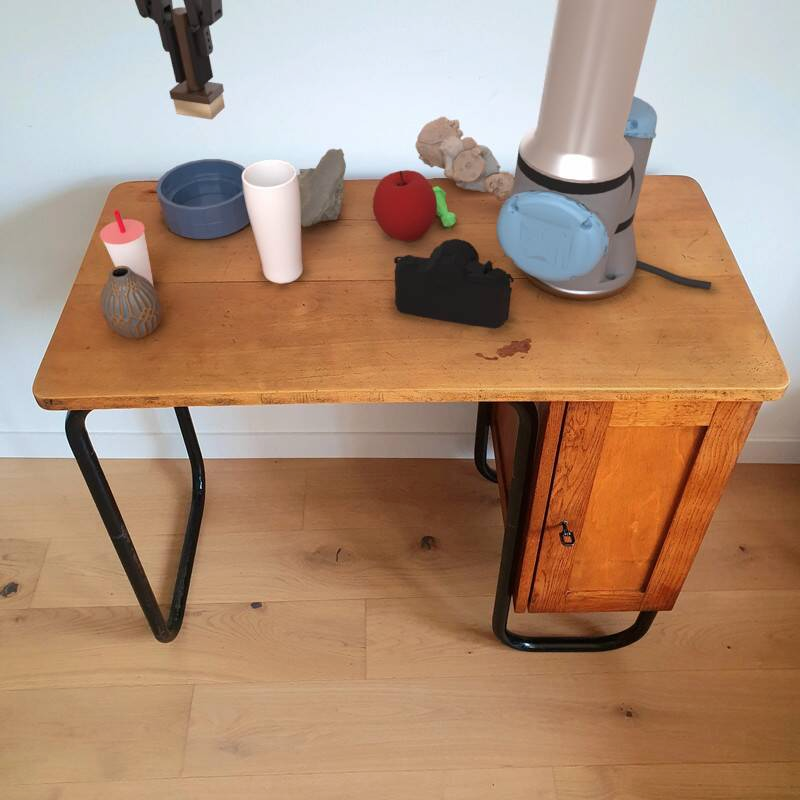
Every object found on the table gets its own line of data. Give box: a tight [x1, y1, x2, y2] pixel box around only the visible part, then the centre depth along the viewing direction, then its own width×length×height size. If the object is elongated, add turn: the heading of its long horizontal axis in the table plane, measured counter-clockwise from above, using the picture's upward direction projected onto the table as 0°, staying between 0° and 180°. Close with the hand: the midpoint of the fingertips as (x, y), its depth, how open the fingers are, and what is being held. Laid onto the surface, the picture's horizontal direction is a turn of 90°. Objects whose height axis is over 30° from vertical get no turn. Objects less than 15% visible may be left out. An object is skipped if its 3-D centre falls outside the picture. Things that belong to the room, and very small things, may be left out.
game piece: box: [432, 186, 458, 228], centre depth 111 cm, size 4×4×6 cm
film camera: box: [393, 238, 515, 329], centre depth 97 cm, size 15×10×9 cm, turn 74°
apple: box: [372, 169, 437, 242], centre depth 106 cm, size 9×9×10 cm
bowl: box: [155, 158, 250, 240], centre depth 112 cm, size 13×13×6 cm
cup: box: [99, 209, 154, 286], centre depth 98 cm, size 5×5×12 cm
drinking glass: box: [242, 159, 304, 285], centre depth 99 cm, size 7×7×15 cm
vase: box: [100, 266, 163, 339], centre depth 94 cm, size 7×7×9 cm
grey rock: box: [297, 148, 347, 228], centre depth 111 cm, size 14×10×10 cm
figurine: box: [415, 116, 515, 203], centre depth 116 cm, size 9×8×20 cm
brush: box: [169, 6, 226, 120], centre depth 93 cm, size 5×4×12 cm
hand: (194, 79), depth 95 cm, fingers closed on brush, 2 cm apart
